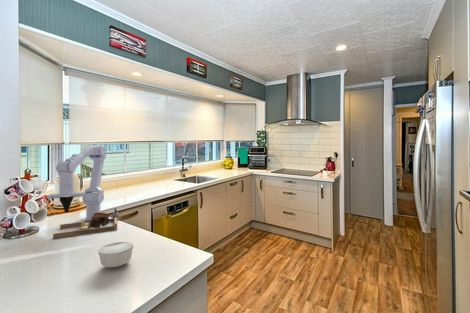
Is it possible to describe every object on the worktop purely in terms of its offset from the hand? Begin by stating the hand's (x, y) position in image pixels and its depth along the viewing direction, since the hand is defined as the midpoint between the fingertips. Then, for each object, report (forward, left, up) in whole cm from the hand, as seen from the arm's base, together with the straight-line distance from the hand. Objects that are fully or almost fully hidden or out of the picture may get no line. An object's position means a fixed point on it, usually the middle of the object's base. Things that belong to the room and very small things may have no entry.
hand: (66, 212), depth 114 cm
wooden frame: (+1, +9, -10) cm, 14 cm away
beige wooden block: (+1, +8, -10) cm, 13 cm away
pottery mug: (+1, +14, -11) cm, 18 cm away
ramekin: (+49, +22, -10) cm, 54 cm away
